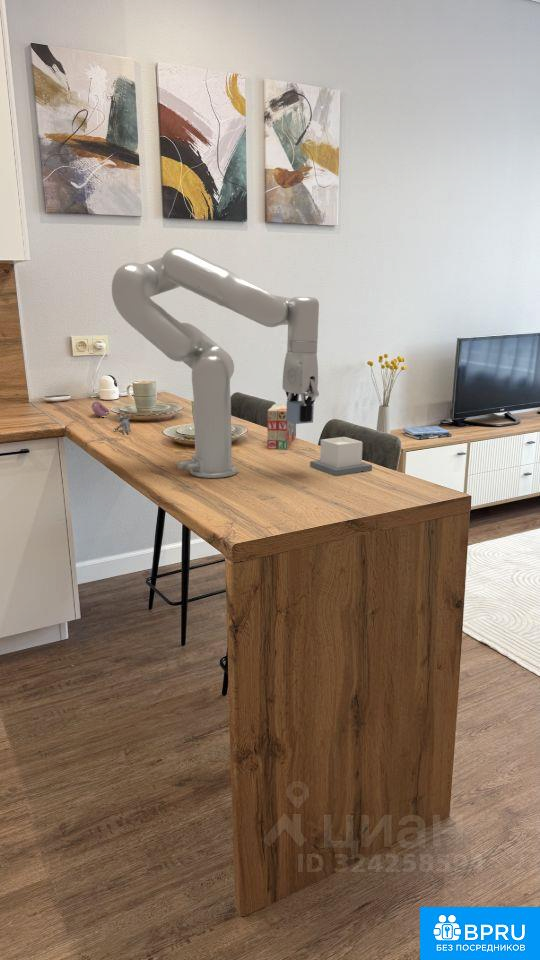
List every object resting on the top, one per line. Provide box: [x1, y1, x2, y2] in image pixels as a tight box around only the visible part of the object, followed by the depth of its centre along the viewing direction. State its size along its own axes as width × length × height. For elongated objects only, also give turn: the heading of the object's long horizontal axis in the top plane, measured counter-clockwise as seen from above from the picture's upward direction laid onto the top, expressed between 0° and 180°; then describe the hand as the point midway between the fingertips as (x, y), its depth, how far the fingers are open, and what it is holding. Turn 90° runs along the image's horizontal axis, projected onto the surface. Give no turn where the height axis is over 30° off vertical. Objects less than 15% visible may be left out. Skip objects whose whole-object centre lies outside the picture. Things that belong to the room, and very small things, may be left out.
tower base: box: [309, 436, 373, 477], centre depth 189 cm, size 12×12×8 cm
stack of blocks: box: [266, 403, 297, 451], centre depth 222 cm, size 21×6×12 cm, turn 171°
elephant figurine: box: [112, 412, 136, 434], centre depth 238 cm, size 10×6×9 cm
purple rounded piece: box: [91, 401, 110, 417], centre depth 270 cm, size 10×5×7 cm, turn 7°
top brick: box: [286, 400, 315, 425], centre depth 179 cm, size 5×5×5 cm
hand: (299, 418), depth 180 cm, fingers closed on top brick, 4 cm apart
